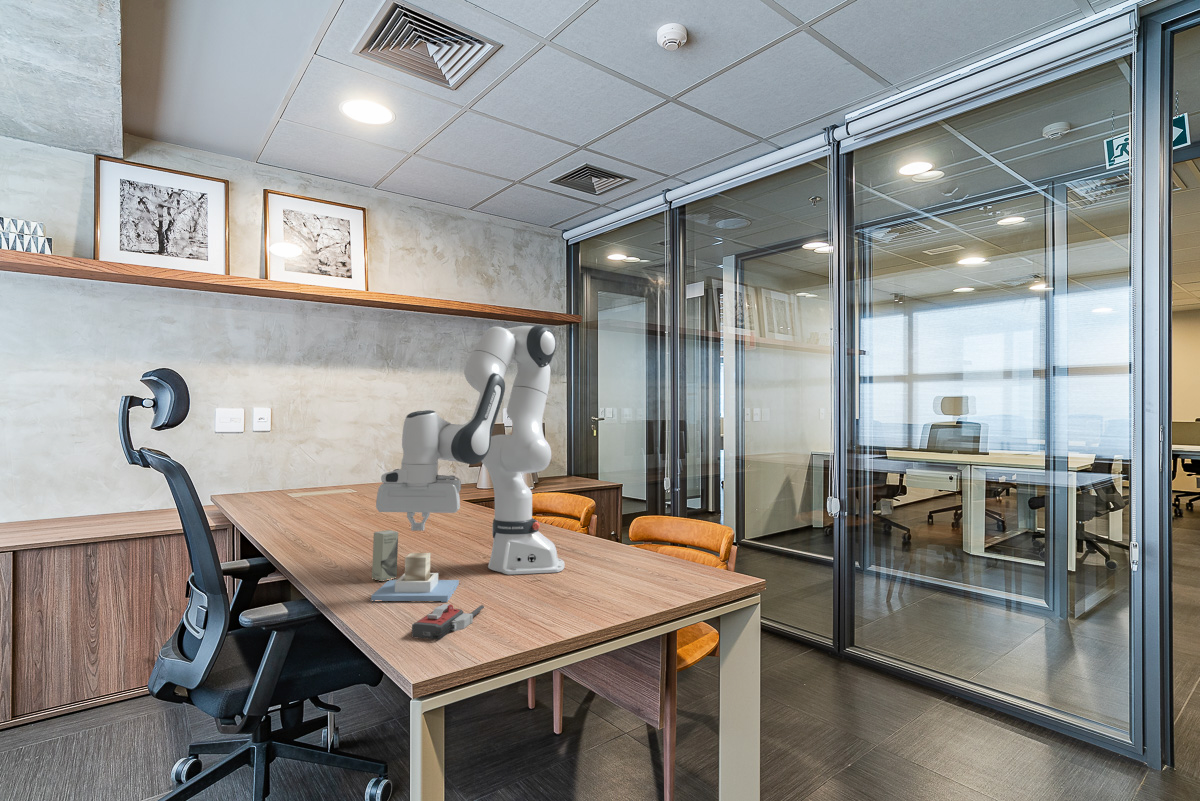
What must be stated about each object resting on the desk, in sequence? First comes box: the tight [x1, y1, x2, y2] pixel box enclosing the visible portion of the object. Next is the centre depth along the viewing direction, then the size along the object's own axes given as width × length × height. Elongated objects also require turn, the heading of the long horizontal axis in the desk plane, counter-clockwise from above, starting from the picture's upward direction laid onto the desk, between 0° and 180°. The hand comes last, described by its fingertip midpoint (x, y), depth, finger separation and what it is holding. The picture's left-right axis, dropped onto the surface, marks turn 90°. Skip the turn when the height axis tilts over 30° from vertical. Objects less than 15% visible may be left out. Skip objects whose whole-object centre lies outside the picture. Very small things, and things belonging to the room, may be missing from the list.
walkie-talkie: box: [411, 603, 485, 640], centre depth 129 cm, size 9×4×20 cm
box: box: [371, 529, 399, 581], centre depth 163 cm, size 5×4×13 cm
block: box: [404, 552, 431, 581], centre depth 151 cm, size 5×5×8 cm
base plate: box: [370, 572, 460, 603], centre depth 151 cm, size 18×14×4 cm
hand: (417, 530), depth 151 cm, fingers closed
